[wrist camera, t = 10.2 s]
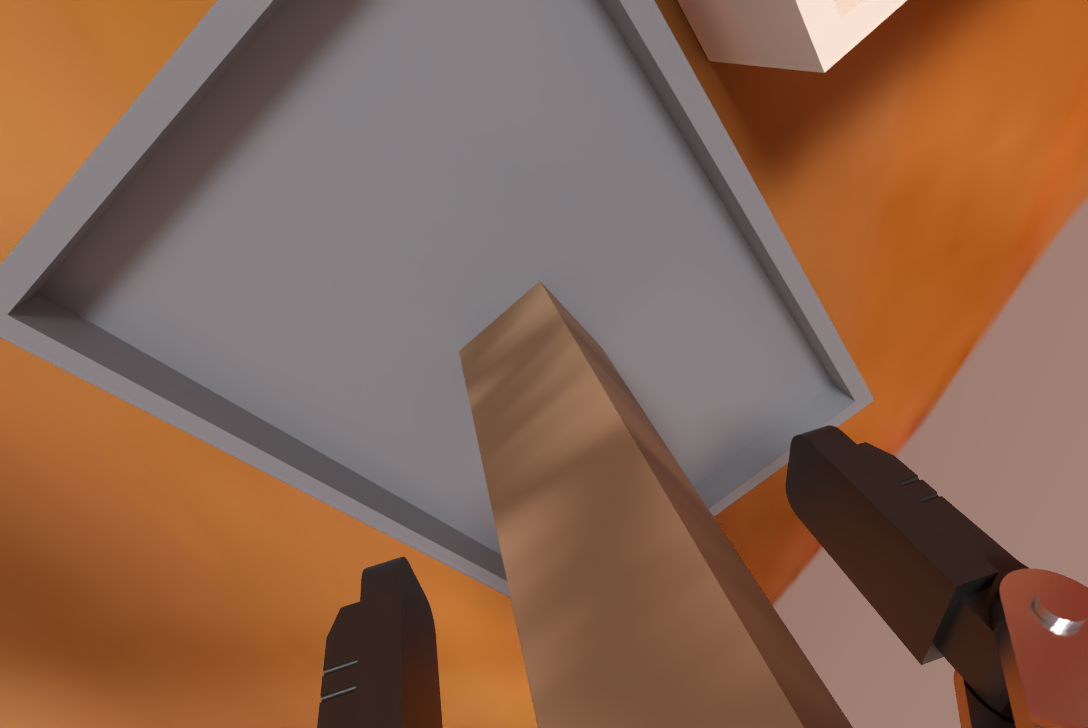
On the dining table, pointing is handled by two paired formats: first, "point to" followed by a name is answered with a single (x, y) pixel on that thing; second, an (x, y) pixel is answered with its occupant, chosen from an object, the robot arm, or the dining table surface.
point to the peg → (618, 549)
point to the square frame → (784, 30)
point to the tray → (425, 251)
